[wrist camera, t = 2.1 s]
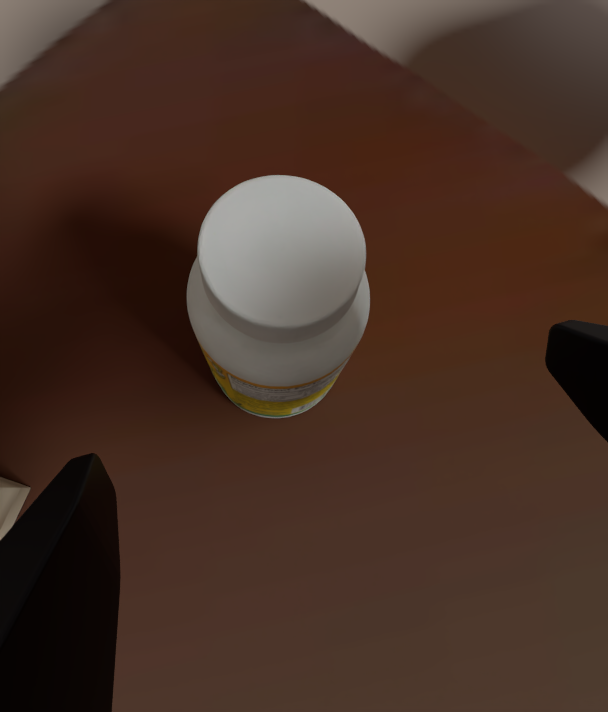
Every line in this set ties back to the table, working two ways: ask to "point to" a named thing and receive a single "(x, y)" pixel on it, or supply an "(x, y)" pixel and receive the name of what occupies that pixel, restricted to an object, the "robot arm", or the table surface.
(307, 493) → the table surface
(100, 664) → the robot arm
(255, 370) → the supplement bottle
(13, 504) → the holder
